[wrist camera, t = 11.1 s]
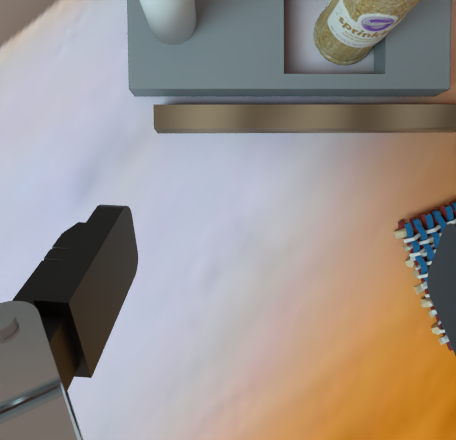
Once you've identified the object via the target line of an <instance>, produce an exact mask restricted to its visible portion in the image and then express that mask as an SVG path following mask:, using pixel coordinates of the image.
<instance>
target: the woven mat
mask: <svg viewBox="0 0 456 440" xmlns="http://www.w3.org/2000/svg"><path fill="white" fill-rule="evenodd" d="M449 205H450V206H448V207H445V206H444V205H443V206H440V207H439V210H440V212H439V211H438V210H435V209H434V210H431V211H429V212H430V214H428V215H426V214H425V213H422V214H420V218H421V219H420V220H419V219H417V218H416V219H415V218H411V219H409V220H410V222H409V223H407V224H405V222H403V221H400V222H398V226H399V230H398V231H395V232H394V236H395V238H396V239H401V238H403V239H404V243H407V244H405V245H404V246H402V247H403V249H404V252H407V251H410V253H411V254H409V255H410V257H409V258H408V259H407V260H406V261H405V263H406V265H407V267H412V268H413V267H414V266H415V264H416V267H415V268H416V270H415V271H414V272H413V274H414V277H415V278H419V279H420V278H421V281H422V283H421V284H419V285H417V286H414V288H415V291H416V293H417V294H419V293H421V292H423V291H425V292H426V295H425V297H426V298H425V299H421V305H422V306H423V307H424V308H426V307H430V308H431V311H429V315H430V317H431V318H432V317H436V319H437V322H438V323H436V324H434V325H433V326H432V328H431V330H432V332H433V333H434V334H438V335H439V334H440V333H442V334H443V336H442V337H440V338H438V339H439V341H440V344H441V345H442V344H445V343H446V344H447V346H448V349H449V350H450V351H451V350H453V348H452V346H451V344H450V341H449V339H448V337H447V334H446V332H445V330H444V328H443V325H442V323H441V321H440V319H439V316H438V314H437V312H436V309H435V307H434V305H433V303H432V300H431V298H430V296H429V292H428V287H427V278H428V272H429V269H430V266H431V263H432V260H433V257H434V254H435V252H436V249H437V246H438V243H439V240H440V237H441V235H442V232H443V229H444V228H445V226H446V225H447V224H449V223H454V224H456V202H455V201H452V202H450V203H449ZM410 223H411V224H410ZM433 223H434V224H433ZM434 225H435V228H434ZM413 233H415V236H413ZM420 249H421V250H420Z"/></svg>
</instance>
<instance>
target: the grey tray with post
mask: <svg viewBox="0 0 456 440" xmlns="http://www.w3.org/2000/svg"><path fill="white" fill-rule="evenodd" d="M127 13H128V67H129V89H130V91H131V92H132V93H133V95H134V96H436V95H438V94H440V93H442V92H444V91H446V90H448V89H450V27H451V0H420V1H419V2H418V3H417V4H416V5H415V6H414V7H413V8H412V9H411V10H410V11H409V12H408V13H407V14H406V16H405V17H404V18H403V19H402V20H401V21H400V22H399V23H398V24H397V25H396V26H395V27H394V28H393V29H392V30H391V31H390V32H389V33H388V34H387V35H386V36H385V37H384V38H383V39H381V40H380V41H379V42H378V43H376V44H375V45H374V74H284V0H127Z"/></svg>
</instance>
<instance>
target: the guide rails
mask: <svg viewBox="0 0 456 440" xmlns="http://www.w3.org/2000/svg"><path fill="white" fill-rule="evenodd" d="M154 129H155V130H156V131H157V133H393V132H456V104H342V105H154Z"/></svg>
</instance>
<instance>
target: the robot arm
mask: <svg viewBox="0 0 456 440" xmlns="http://www.w3.org/2000/svg"><path fill="white" fill-rule="evenodd" d="M137 265H138V251H137V245H136V239H135V232H134V226H133V220H132V214H131V210H130V208H129V207H128V206H116V205H99V206H97V208H96V209H95V210H94V212H93V213H92V215H91V216H90V218H89V219H88V221H87V222H86V223H82V222H78V223H77V224H75V225H74V226H72V227H71V228H69V229H68V230H67V231H65V232H64V233H62V234H61V236H60V237H59V238H58V240H57V241H56V243H55V244H54V245H53V248H52V249H50V251H49V252H48V253H47V255H46V256H45V257H44V261H41V263H40V264H39V265H38V267H37V268H36V269H35V271H34V272H33V273H32V275H31V276H30V277H29V279H28V280H27V281H26V283H25V284H24V285H23V287H22V288H21V289H20V291H19V292H18V293H17V295H16V296H15V298H14V299H13V300H12V301H8V302H3V303H0V440H83V437H82V434H81V431H80V428H79V425H78V421H77V418H76V415H75V412H74V409H73V406H72V403H71V400H70V397H69V394H68V391H67V390H68V388H69V386H70V384H71V382H72V379H73V377H74V376H77V377H88V378H91V377H92V375H93V373H94V370H95V368H96V366H97V363H98V361H99V359H100V356H101V354H102V352H103V349H104V347H105V345H106V342H107V340H108V338H109V335H110V333H111V331H112V328H113V326H114V324H115V321H116V319H117V317H118V314H119V312H120V310H121V307H122V305H123V303H124V300H125V298H126V296H127V293H128V291H129V289H130V286H131V284H132V282H133V279H134V277H135V274H136V271H137ZM427 287H428V292H429V296H430V298H431V300H432V303H433V305H434V307H435V309H436V312H437V314H438V316H439V319H440V321H441V323H442V325H443V328H444V330H445V332H446V334H447V337H448V339H449V341H450V344H451V346H452V348H453V350H454V353H455V355H456V224H454V223H449V224H447V225H446V226H445V228H444V229H443V232H442V235H441V237H440V240H439V243H438V246H437V249H436V252H435V254H434V257H433V260H432V263H431V266H430V269H429V272H428V278H427Z"/></svg>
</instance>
